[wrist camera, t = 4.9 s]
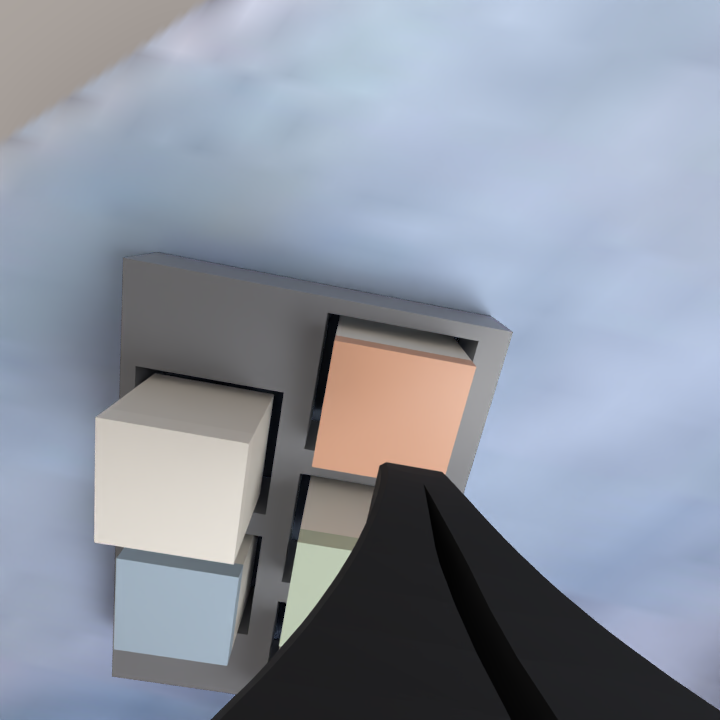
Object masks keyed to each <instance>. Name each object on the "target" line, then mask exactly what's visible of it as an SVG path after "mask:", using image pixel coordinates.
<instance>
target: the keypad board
mask: <svg viewBox="0 0 720 720" xmlns="http://www.w3.org/2000/svg"><path fill="white" fill-rule="evenodd" d="M330 313H333V314H338V315H343V316H349V317H354V318H359V319H364V320H370V321H375V322H380V323H386V324H391V325H396V326H401V327H407V328H412V329H417V330H423V331H428V332H433V333H438V334H444V335H449V336H454V337H459V341H458V344H459V345H460V346H461V348H462V349H463V350H464V351H465V353H466V354H467V355H468V357H469V358H470V359H471V361H472V362H473V363H474V364H475V366H476V370H475V373H474V377H473V380H472V384H471V387H470V391H469V394H468V398H467V401H466V405H465V408H464V412H463V415H462V419H461V422H460V426H459V429H458V433H457V436H456V440H455V443H454V446H453V450H452V453H451V457H450V460H449V464H448V467H447V471H446V474H445V475H446V476H447V477H448V478H449V479H450V480H451V481H452V482H453V483H454V484H455V486H456V487H457V488H458V489H459V490H460V491H461V492H462V493H464V490H465V487H466V484H467V480H468V477H469V474H470V470H471V467H472V464H473V461H474V457H475V454H476V451H477V448H478V444H479V441H480V438H481V435H482V431H483V428H484V425H485V421H486V418H487V415H488V412H489V408H490V405H491V402H492V399H493V395H494V392H495V389H496V386H497V382H498V379H499V376H500V372H501V369H502V366H503V363H504V359H505V356H506V353H507V350H508V346H509V343H510V340H511V337H512V333H513V332H512V331H511V330H509V329H508V328H507V327H505V326H504V325H503V324H501V323H500V322H499V321H497V320H496V319H495V318H493V317H491V316H486V315H481V314H476V313H471V312H465V311H460V310H455V309H450V308H445V307H439V306H434V305H429V304H424V303H419V302H413V301H408V300H403V299H398V298H393V297H388V296H382V295H377V294H372V293H367V292H362V291H356V290H351V289H346V288H341V287H336V286H330V285H325V284H320V283H315V282H310V281H304V280H299V279H294V278H289V277H284V276H278V275H273V274H268V273H263V272H258V271H253V270H247V269H242V268H237V267H232V266H227V265H221V264H216V263H211V262H206V261H201V260H195V259H190V258H185V257H180V256H175V255H169V254H164V253H159V252H156V253H150V254H143V255H137V256H131V257H124V258H123V281H122V319H121V357H120V395H119V399H121V398H122V397H123V396H125V395H126V394H128V393H129V392H130V391H132V390H133V389H134V388H136V387H137V386H138V385H140V384H141V383H142V382H144V381H145V380H147V379H148V378H149V377H151V376H152V375H153V374H155V373H157V374H162V375H165V371H166V372H172V373H178V374H183V375H189V376H194V377H200V378H206V379H211V380H217V381H222V382H228V383H233V384H239V385H245V386H250V387H256V388H261V389H267V390H273V391H278V392H284V395H283V402H282V409H281V415H280V422H279V429H278V436H277V442H276V449H275V456H274V462H273V469H272V476H271V478H270V477H265V476H262V483H261V490H260V496H259V498H258V501H257V503H256V506H255V509H254V511H253V514H252V517H251V519H250V522H249V525H248V527H247V530H246V533H245V534H250V535H256V536H262V543H261V550H260V556H259V563H258V570H257V576H256V583H255V588H254V587H251V589H250V592H249V596H248V599H247V602H246V605H245V609H244V612H243V615H242V619H241V622H240V625H239V628H238V632H237V635H236V638H235V641H234V645H233V648H232V651H231V655H230V658H229V661H228V664H227V666H225V665H218V664H211V663H204V662H197V661H191V660H184V659H177V658H170V657H163V656H156V655H149V654H143V653H136V652H129V651H122V650H115V649H114V624H115V587H116V558H117V557H118V555H119V554H120V553H121V551H122V550H123V549H124V547H119V546H115V584H114V622H113V660H112V677H119V678H126V679H133V680H140V681H147V682H154V683H161V684H168V685H175V686H182V687H189V688H196V689H203V690H210V691H217V692H224V693H231V694H237V693H238V692H239V691H240V690H242V689H243V688H244V687H245V686H246V685H247V684H248V683H249V682H250V681H251V680H252V679H253V678H254V677H255V676H256V674H257V673H258V672H259V671H260V670H261V669H262V668H263V667H264V666H265V665H266V664H267V663H268V662H269V660H270V659H271V658H272V657H273V656H274V655H275V653H276V652H277V651H278V650H279V647H280V646H279V643H280V641H279V640H274V634H275V629H276V623H277V617H278V611H279V606H280V602H285V603H287V598H288V593H289V587H290V582H291V576H292V570H293V565H294V559H295V554H296V548H297V543H298V541H296V540H291V536H292V531H293V525H294V519H295V513H296V508H297V502H298V496H299V490H300V485H301V479H302V474H307V475H313V476H319V477H325V478H331V479H337V480H342V481H348V482H354V483H360V484H366V485H372V486H375V482H376V478H374V477H369V476H363V475H357V474H351V473H345V472H339V471H334V470H328V469H322V468H316V467H312V463H313V457H314V452H315V446H316V441H317V435H318V429H319V424H320V421H316V420H312V415H313V410H314V404H315V398H316V392H317V386H318V381H319V375H320V369H321V363H322V358H323V352H324V346H325V340H326V335H327V329H328V323H329V317H330Z"/></svg>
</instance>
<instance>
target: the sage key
mask: <svg viewBox="0 0 720 720" xmlns="http://www.w3.org/2000/svg"><path fill="white" fill-rule="evenodd" d="M374 487H375V486H370V485H364V484H359V483H353V482H347V481H341V480H335V479H329V478H323V477H317V476H311V479H310V483H309V488H308V493H307V498H306V503H305V508H304V513H303V518H302V523H301V528H300V533H299V538H298V543H297V548H296V554H295V559H294V565H293V570H292V576H291V582H290V587H289V593H288V598H287V604H286V609H285V615H284V621H283V626H282V632H281V637H280V643H279V646H282V645H283V644H284V643H285V642H286V641H287V640H288V638H289V637H290V636H291V635H292V634H293V633H294V632H295V630H296V629H297V628H298V627H299V626H300V625H301V623H302V622H303V621H304V620H305V618H306V617H307V616H308V615H309V613H310V612H311V611H312V609H313V608H314V607H315V606H316V604H317V603H318V601H319V600H320V599H321V597H322V596H323V594H324V593H325V592H326V590H327V589H328V587H329V586H330V585H331V583H332V582H333V580H334V579H335V577H336V576H337V574H338V573H339V571H340V570H341V568H342V566H343V565H344V563H345V562H346V560H347V558H348V557H349V555H350V553H351V551H352V550H353V548H354V546H355V544H356V542H357V540H358V538H359V536H360V534H361V532H362V530H363V528H364V526H365V524H366V521H367V517H368V513H369V508H370V504H371V500H372V495H373V491H374Z"/></svg>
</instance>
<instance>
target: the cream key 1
mask: <svg viewBox="0 0 720 720" xmlns="http://www.w3.org/2000/svg"><path fill="white" fill-rule="evenodd" d="M273 399H274V394H269V393H263V392H257V391H252V390H246V389H241V388H235V387H229V386H224V385H218V384H213V383H207V382H201V381H196V380H190V379H185V378H179V377H173V376H168V375H162V374H157V373H155V374H153V375H152V376H151V377H149V378H148V379H147V380H145V381H144V382H142V383H141V384H140V385H138V386H137V387H136V388H134V389H133V390H132V391H130V392H129V393H128V394H126V395H125V396H123V397H122V398H121V399H119V400H118V401H117V402H115V403H114V404H113V405H111V406H110V407H109V408H107V409H106V410H104V411H103V412H102V413H100V414H99V415H98V416H96V417H95V511H94V543H100V544H107V545H113V546H119V547H126V548H132V549H138V550H145V551H151V552H157V553H164V554H170V555H176V556H183V557H189V558H195V559H202V560H208V561H214V562H221V563H227V564H233V565H234V562H235V559H236V557H237V554H238V551H239V549H240V546H241V543H242V541H243V538H244V535H245V533H246V530H247V527H248V525H249V522H250V519H251V517H252V514H253V511H254V509H255V506H256V503H257V501H258V498H259V496H260V490H261V483H262V476H263V469H264V462H265V455H266V448H267V441H268V434H269V427H270V420H271V413H272V406H273Z"/></svg>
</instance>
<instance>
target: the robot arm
mask: <svg viewBox="0 0 720 720" xmlns="http://www.w3.org/2000/svg"><path fill="white" fill-rule="evenodd" d="M211 720H720V710H718V709H717V708H715V707H714V706H712V705H711V704H709V703H708V702H706V701H705V700H703V699H702V698H700V697H699V696H697V695H696V694H694V693H693V692H691V691H690V690H689V689H687V688H686V687H684V686H683V685H681V684H680V683H678V682H677V681H675V680H674V679H673V678H671V677H670V676H668V675H667V674H666V673H664V672H663V671H661V670H660V669H659V668H657V667H656V666H655V665H653V664H652V663H650V662H649V661H648V660H646V659H645V658H644V657H642V656H641V655H640V654H638V653H637V652H635V651H634V650H633V649H631V648H630V647H629V646H627V645H626V644H624V643H623V642H622V641H621V640H619V639H618V638H617V637H615V636H614V635H613V634H611V633H610V632H609V631H608V630H606V629H605V628H604V627H602V626H601V625H600V624H599V623H597V622H596V621H595V620H594V619H593V618H591V617H590V616H589V615H588V614H587V613H585V612H584V611H583V610H582V609H581V608H579V607H578V606H577V605H576V604H575V603H573V602H572V601H571V600H570V599H569V598H567V597H566V596H565V595H564V594H563V593H561V592H560V591H559V590H558V589H557V588H556V587H555V586H553V585H552V584H551V583H550V582H549V581H548V580H547V579H546V578H545V577H543V576H542V575H541V574H540V573H539V572H538V571H537V570H536V569H535V568H534V567H533V566H532V565H531V564H530V563H529V562H528V561H527V560H526V559H525V558H524V557H522V556H521V555H520V554H519V553H518V552H517V551H516V550H515V549H514V548H513V547H512V546H511V545H510V544H509V543H508V542H507V541H506V540H505V539H504V538H503V537H502V536H501V534H500V533H499V532H498V531H497V530H496V529H495V528H494V527H493V526H492V525H491V524H490V523H489V522H488V521H487V520H486V519H485V518H484V516H483V515H482V514H481V513H480V512H479V511H478V510H477V509H476V508H475V507H474V505H473V504H472V503H471V502H470V501H469V500H468V499H467V498H466V497H465V495H464V494H463V493H462V492H461V491H460V490H459V489H458V488H457V487H456V486H455V484H454V483H453V482H452V481H451V480H450V479H449V478H448V477H447V476H446V475H445V474H444V473H443V472H441V471H435V470H429V469H423V468H418V467H412V466H406V465H400V464H395V463H389V462H385V463H383V464H382V465H380V466H379V469H378V474H377V478H376V482H375V487H374V491H373V495H372V500H371V504H370V508H369V513H368V517H367V521H366V524H365V526H364V528H363V530H362V532H361V534H360V536H359V538H358V540H357V542H356V544H355V546H354V548H353V550H352V551H351V553H350V555H349V557H348V558H347V560H346V562H345V563H344V565H343V566H342V568H341V570H340V571H339V573H338V574H337V576H336V577H335V579H334V580H333V582H332V583H331V585H330V586H329V587H328V589H327V590H326V592H325V593H324V594H323V596H322V597H321V599H320V600H319V601H318V603H317V604H316V606H315V607H314V608H313V609H312V611H311V612H310V613H309V615H308V616H307V617H306V618H305V620H304V621H303V622H302V623H301V625H300V626H299V627H298V628H297V629H296V630H295V632H294V633H293V634H292V635H291V636H290V637H289V638H288V640H287V641H286V642H285V643H284V644H283V645H282V647H281V648H280V649H279V650H278V651H277V652H276V653H275V655H274V656H273V657H272V658H271V659H270V660H269V662H268V663H267V664H266V665H265V666H264V667H263V668H262V669H261V670H260V671H259V672H258V673H257V674H256V676H255V677H254V678H253V679H252V680H251V681H250V682H249V683H248V684H247V685H246V686H245V687H244V688H243V689H242V690H240V691H239V692H238V693H237V694H236V695H235V696H234V697H233V698H232V699H231V700H230V701H229V702H228V703H227V704H226V705H225V706H224V707H223V708H222V709H221V710H220V711H219V712H218V713H217V714H216V715H215V716H214V717H213V718H212V719H211Z"/></svg>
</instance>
